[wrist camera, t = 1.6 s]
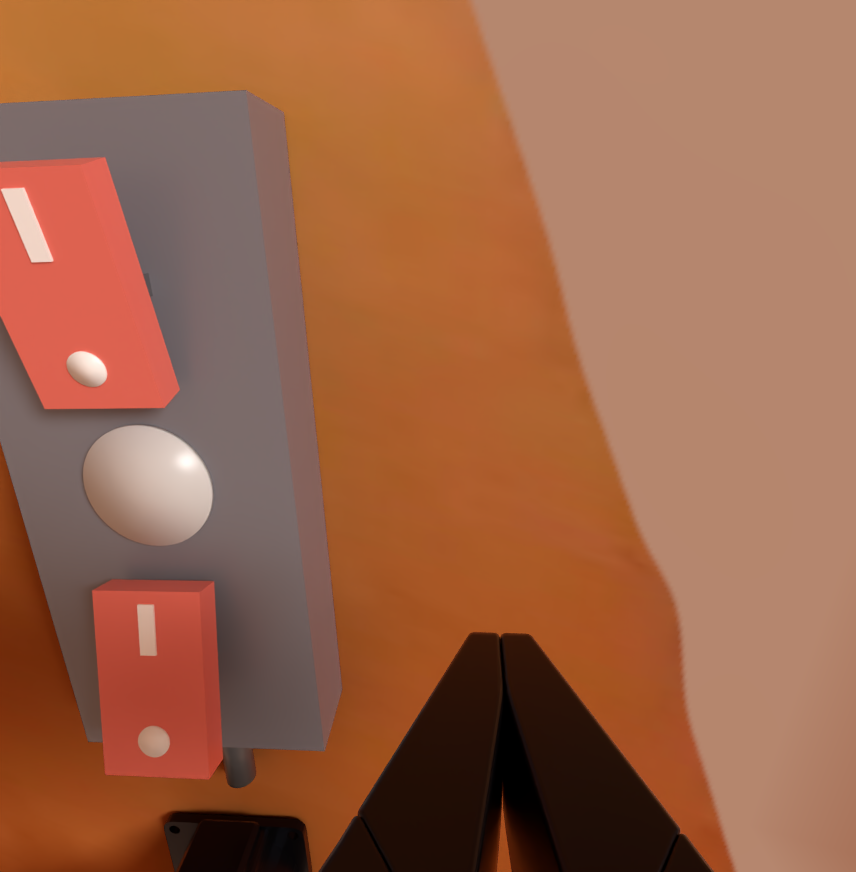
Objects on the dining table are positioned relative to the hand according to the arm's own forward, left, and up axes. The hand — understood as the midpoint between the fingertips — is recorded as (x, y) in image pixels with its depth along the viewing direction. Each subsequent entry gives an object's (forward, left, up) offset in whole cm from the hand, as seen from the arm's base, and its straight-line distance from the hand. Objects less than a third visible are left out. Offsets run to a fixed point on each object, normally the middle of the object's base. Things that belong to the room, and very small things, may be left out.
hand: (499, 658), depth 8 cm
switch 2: (-8, +10, -8) cm, 15 cm away
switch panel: (-3, +10, -12) cm, 16 cm away
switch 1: (+4, +10, -8) cm, 14 cm away
